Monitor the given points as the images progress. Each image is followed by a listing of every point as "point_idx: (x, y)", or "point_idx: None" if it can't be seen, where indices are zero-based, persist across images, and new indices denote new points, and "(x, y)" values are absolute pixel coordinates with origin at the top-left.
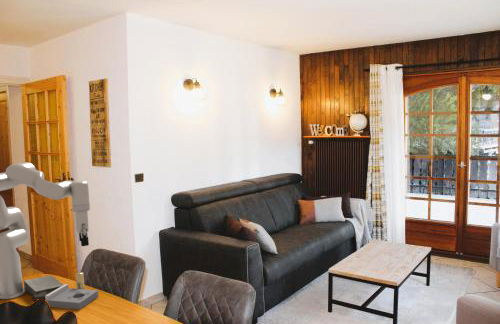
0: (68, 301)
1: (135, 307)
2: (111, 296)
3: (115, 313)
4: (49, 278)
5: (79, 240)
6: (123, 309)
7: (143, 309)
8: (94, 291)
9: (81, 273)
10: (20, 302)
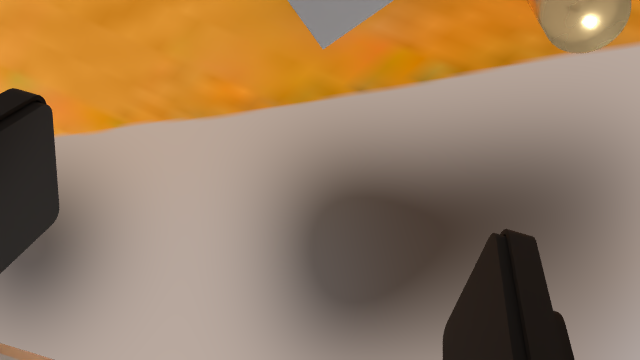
0: None
1: None
2: (273, 96)
3: (17, 8)
4: None
5: (526, 237)
6: (50, 64)
7: None
8: (322, 21)
9: (562, 28)
10: None
